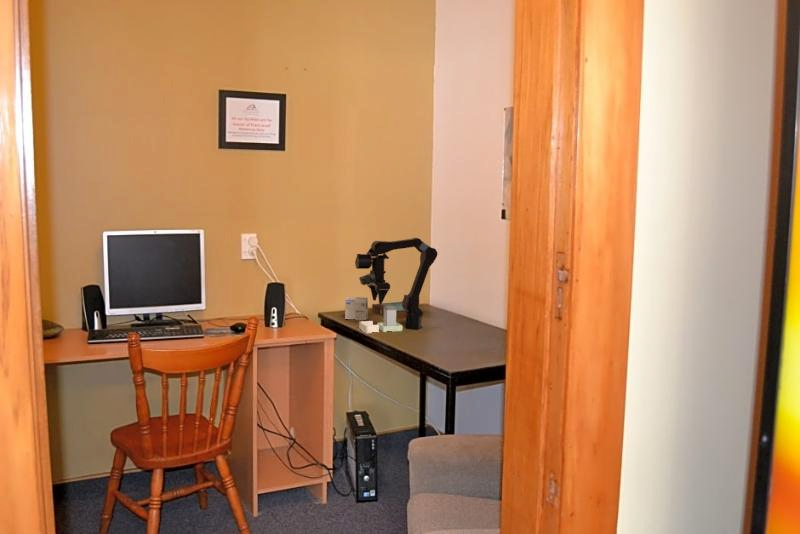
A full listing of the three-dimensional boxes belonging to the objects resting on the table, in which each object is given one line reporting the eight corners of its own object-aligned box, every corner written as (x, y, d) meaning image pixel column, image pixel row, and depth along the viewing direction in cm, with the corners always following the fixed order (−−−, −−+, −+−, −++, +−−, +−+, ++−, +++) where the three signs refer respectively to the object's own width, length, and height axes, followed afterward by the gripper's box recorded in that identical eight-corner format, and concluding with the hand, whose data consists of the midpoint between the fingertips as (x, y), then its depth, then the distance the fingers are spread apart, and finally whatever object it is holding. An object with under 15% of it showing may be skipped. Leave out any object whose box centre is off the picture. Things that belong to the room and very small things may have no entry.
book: (372, 313, 375) (372, 303, 375) (402, 311, 383) (402, 301, 382) (390, 320, 355) (390, 311, 354) (421, 318, 362) (421, 308, 362)
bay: (372, 328, 334) (372, 320, 333) (378, 332, 325) (378, 324, 324) (359, 328, 332) (359, 321, 331) (365, 333, 322) (365, 325, 322)
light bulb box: (368, 318, 358) (368, 297, 357) (366, 320, 352) (366, 299, 350) (347, 317, 359) (347, 296, 358) (344, 320, 353) (344, 298, 351)
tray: (395, 327, 337) (395, 321, 337) (402, 330, 329) (402, 325, 329) (377, 328, 334) (377, 322, 334) (383, 332, 326) (383, 326, 325)
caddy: (392, 326, 335) (392, 305, 333) (395, 329, 330) (396, 307, 329) (383, 327, 333) (383, 306, 332) (387, 329, 328) (387, 308, 327)
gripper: (355, 266, 332) (355, 299, 334) (367, 271, 315) (366, 306, 317) (378, 266, 336) (377, 298, 338) (391, 270, 319) (390, 305, 320)
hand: (377, 302), depth 328 cm, fingers open, 9 cm apart
